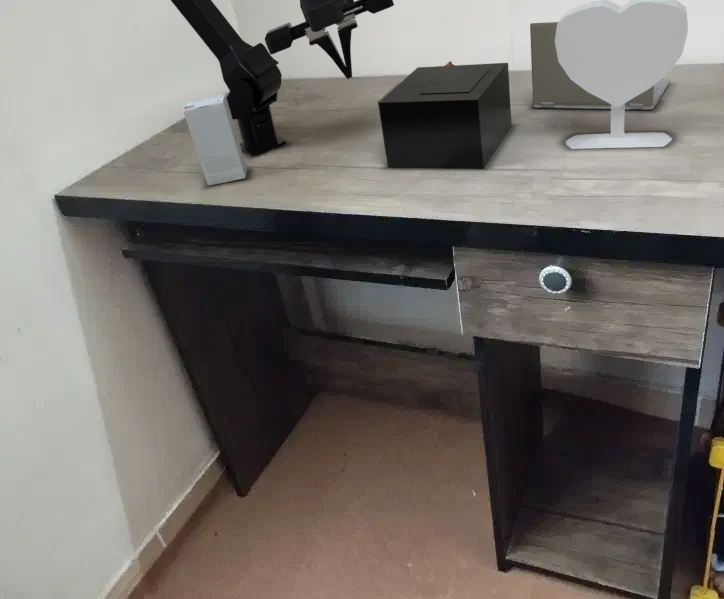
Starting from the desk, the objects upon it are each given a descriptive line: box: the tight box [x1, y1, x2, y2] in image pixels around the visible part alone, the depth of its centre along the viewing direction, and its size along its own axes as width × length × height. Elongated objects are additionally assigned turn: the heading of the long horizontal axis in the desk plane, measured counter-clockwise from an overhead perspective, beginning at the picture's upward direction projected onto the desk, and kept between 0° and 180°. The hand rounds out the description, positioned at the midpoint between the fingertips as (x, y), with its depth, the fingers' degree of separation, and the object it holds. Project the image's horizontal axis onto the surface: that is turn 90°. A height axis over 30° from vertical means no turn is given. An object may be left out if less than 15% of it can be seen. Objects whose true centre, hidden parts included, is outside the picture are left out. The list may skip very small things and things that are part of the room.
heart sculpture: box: [555, 0, 689, 150], centre depth 93 cm, size 16×5×18 cm, turn 70°
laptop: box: [529, 21, 671, 111], centre depth 110 cm, size 18×12×13 cm
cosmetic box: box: [182, 94, 248, 186], centre depth 107 cm, size 6×4×12 cm
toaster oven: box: [377, 62, 512, 169], centre depth 104 cm, size 15×16×10 cm
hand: (349, 77), depth 107 cm, fingers closed
